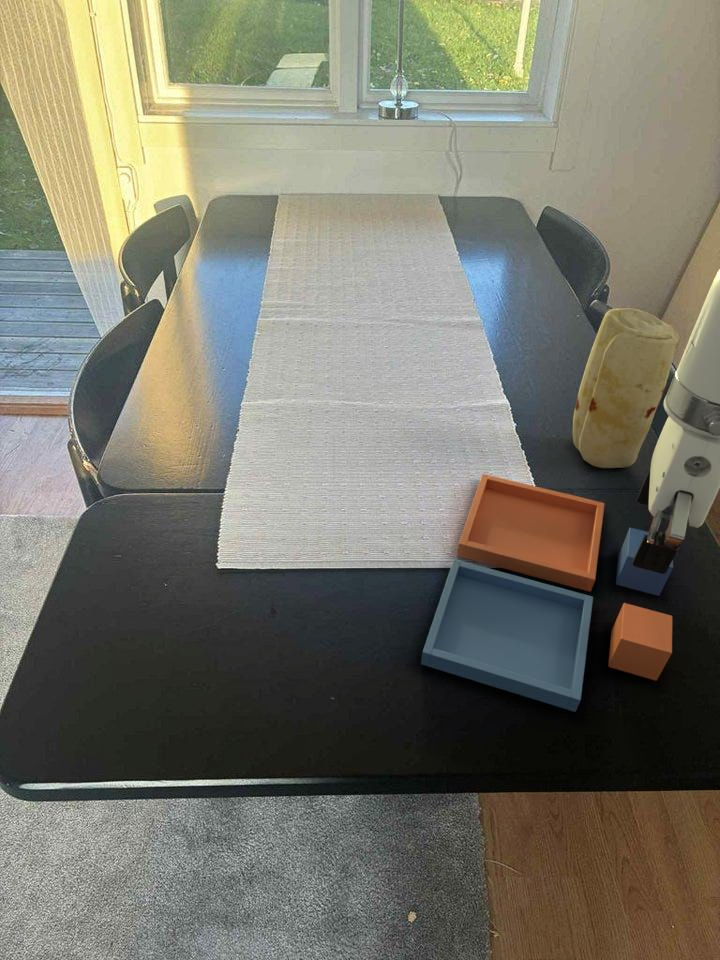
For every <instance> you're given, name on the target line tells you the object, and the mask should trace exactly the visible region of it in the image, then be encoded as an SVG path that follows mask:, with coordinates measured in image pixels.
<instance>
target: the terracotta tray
mask: <svg viewBox="0 0 720 960" xmlns="http://www.w3.org/2000/svg"><path fill="white" fill-rule="evenodd" d="M604 511H605V503H604V502H601V501H598V500H593V499H589V498H585V497H581V496H577V495H574V494H569V493H564V492H560V491H556V490H552V489H549V488H543V487H540V486H535V485H531V484H527V483H523V482H518V481H514V480H510V479H507V478H503V477H498V476H494V475H490V474H486V473H482V474H481V477H480V479H479V481H478V485H477V488H476V491H475V494H474V498H473V500H472V504H471V506H470V508H469V511H468V514H467V518H466V520H465V524H464V527H463V530H462V533H461V536H460V538H459V542H458V546H457V550H456V551H457V553H456V556H457V557H459V558H464V559H467V560H470V561H474V562H477V563H482V564H485V565H489V566H492V567H497V568H499V569H504V570H508V571H511V572H516V573H518V574H522V575H526V576H530V577H533V578H538V579H542V580H545V581H549V582H552V583H556V584H560V585H564V586H567V587H570V588H575V589H579V590H582V591H586V592H589V593H590V592H592V589H593V587H594V584H595V582H596V577H597V568H598V563H599V561H598V560H599V553H600V544H601V535H602V529H603V522H604V521H603V518H604Z"/></svg>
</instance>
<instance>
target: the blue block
mask: <svg viewBox="0 0 720 960" xmlns="http://www.w3.org/2000/svg"><path fill="white" fill-rule="evenodd" d="M648 534H649V531H645V530H643V529H638V528H633V527H629V528H628V531H627V533H626V535H625V538H624V540H623V543H622V546H621V548H620V550H619V553H618V557H617V566H616V577H615V585H617V586H620V587H623V588H627V589H630V590H631V589H632V590H635V591H638V592H643V593H646V594H650V595H653V596H658V597H659V596H661V593H662V592H663V589H664V587H665V585H666V583H667V581H668V579H669V577H670V574H671V573H672V570H673V568H674V559H673V560H672V562H671V564H670V566H669V568H668V570H667V572H666V573H664V574H661V573H657V572H653V571H650V570H646V569H642V568H639V567H635V566H633V559H634V556H635V554H636V552H637V550H638V548H639V546H640V543H641V541H642V539H643V537H644V535H648Z"/></svg>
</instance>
